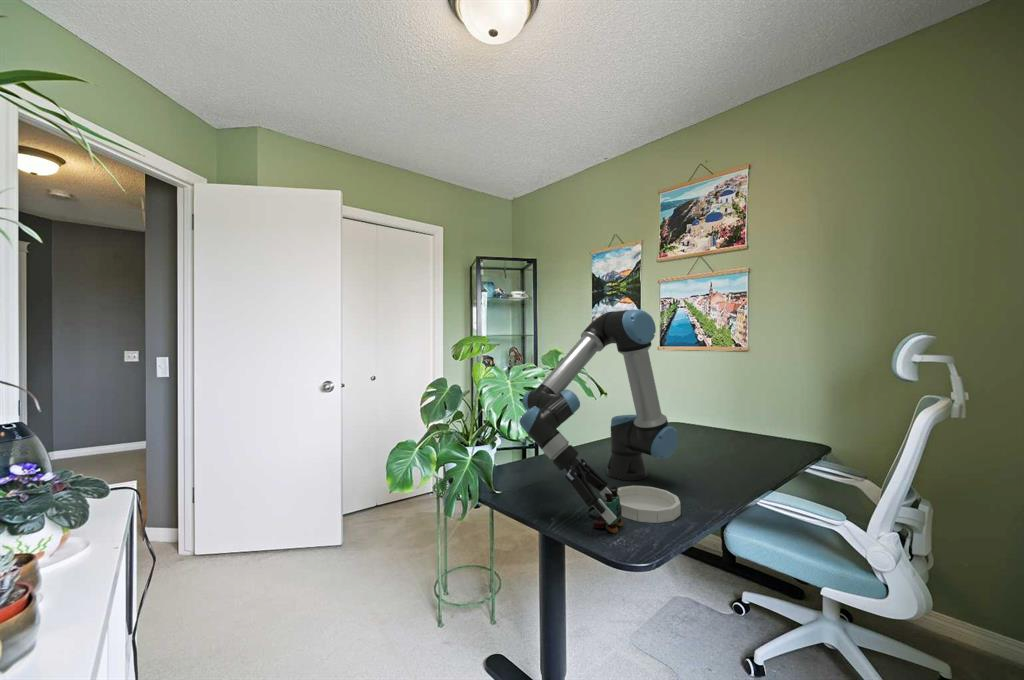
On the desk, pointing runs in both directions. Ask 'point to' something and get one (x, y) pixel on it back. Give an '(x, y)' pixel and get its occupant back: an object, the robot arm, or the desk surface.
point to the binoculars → (616, 509)
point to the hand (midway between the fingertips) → (616, 514)
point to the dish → (648, 504)
